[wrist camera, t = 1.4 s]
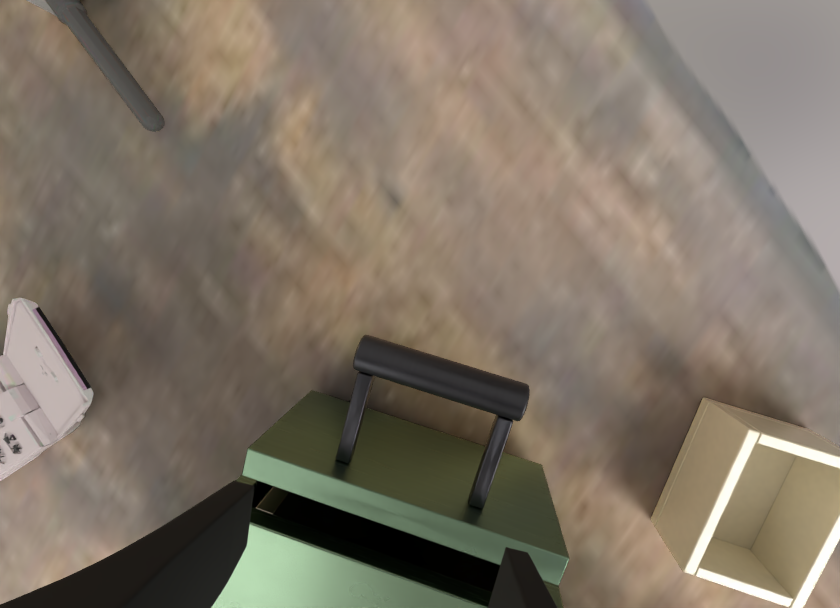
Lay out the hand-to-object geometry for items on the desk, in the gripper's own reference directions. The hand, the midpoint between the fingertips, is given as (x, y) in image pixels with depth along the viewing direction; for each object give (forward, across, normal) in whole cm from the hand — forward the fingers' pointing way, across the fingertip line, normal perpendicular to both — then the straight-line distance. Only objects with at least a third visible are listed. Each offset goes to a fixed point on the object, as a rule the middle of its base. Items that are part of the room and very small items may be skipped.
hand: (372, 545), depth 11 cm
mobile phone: (+12, +24, +8) cm, 28 cm away
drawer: (+10, -1, +7) cm, 12 cm away
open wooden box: (+10, -16, 0) cm, 19 cm away
